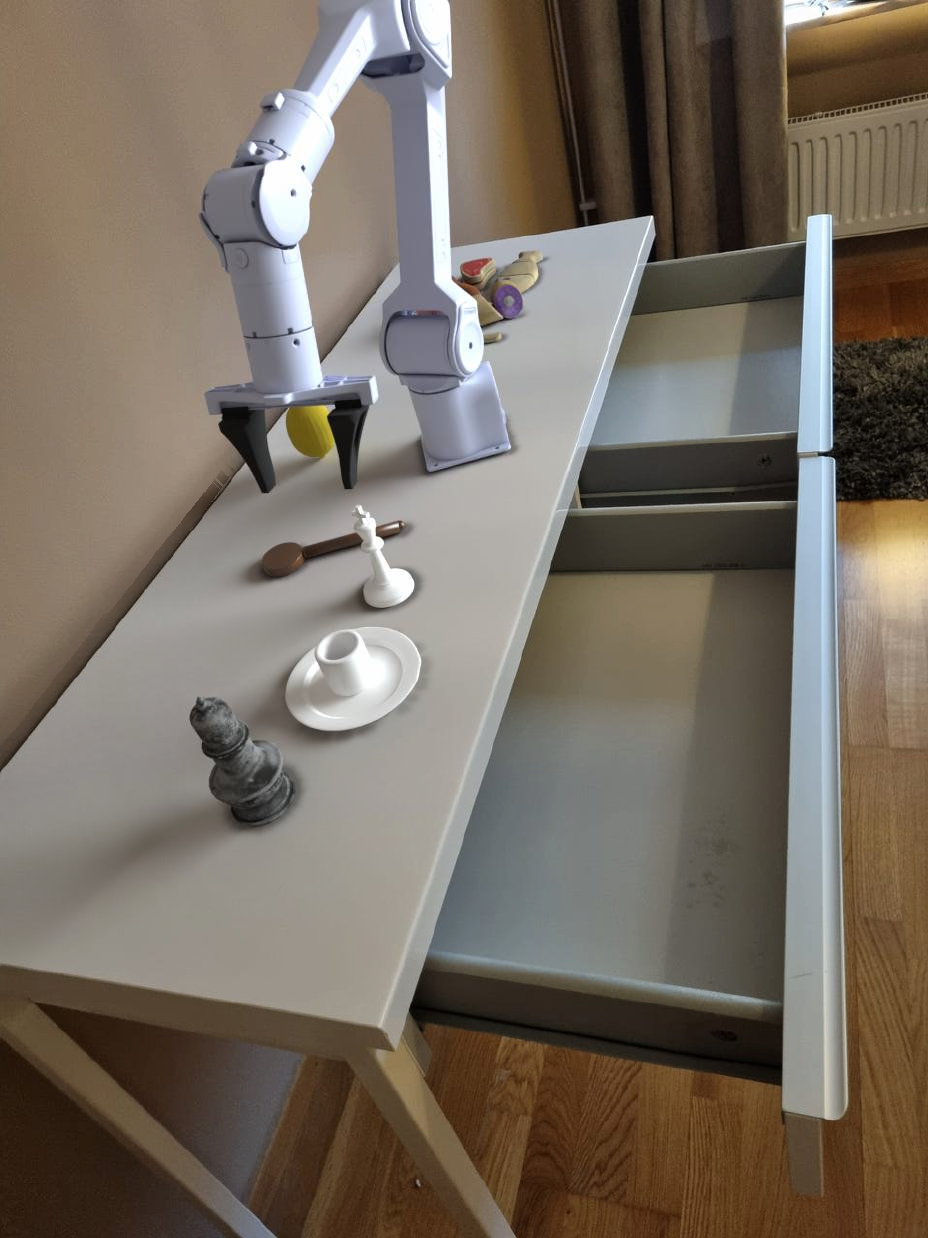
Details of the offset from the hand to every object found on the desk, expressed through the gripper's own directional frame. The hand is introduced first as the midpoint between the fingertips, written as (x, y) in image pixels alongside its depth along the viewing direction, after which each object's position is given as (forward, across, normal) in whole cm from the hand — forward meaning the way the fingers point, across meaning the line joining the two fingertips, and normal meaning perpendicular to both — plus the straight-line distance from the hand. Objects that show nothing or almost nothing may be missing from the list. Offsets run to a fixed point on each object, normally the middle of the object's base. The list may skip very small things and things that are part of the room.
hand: (309, 487), depth 79 cm
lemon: (+6, -8, +27) cm, 28 cm away
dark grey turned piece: (+18, -1, -21) cm, 27 cm away
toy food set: (-4, +8, +61) cm, 62 cm away
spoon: (+10, -3, +9) cm, 14 cm away
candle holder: (+14, +4, -10) cm, 18 cm away
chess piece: (+12, +5, +2) cm, 13 cm away
